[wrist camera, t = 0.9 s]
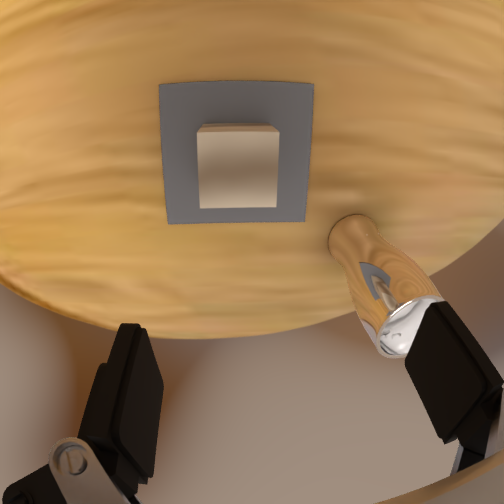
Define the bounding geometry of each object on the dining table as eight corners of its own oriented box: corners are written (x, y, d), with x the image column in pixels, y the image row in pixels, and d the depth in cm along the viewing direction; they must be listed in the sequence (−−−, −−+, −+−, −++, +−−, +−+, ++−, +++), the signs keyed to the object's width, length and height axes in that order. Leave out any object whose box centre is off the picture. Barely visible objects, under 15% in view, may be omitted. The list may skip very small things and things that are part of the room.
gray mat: (160, 84, 25) (158, 84, 24) (312, 84, 26) (314, 84, 25) (168, 222, 32) (167, 224, 31) (303, 219, 33) (304, 221, 32)
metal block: (203, 123, 27) (196, 132, 21) (269, 123, 27) (279, 132, 22) (205, 185, 30) (199, 208, 24) (267, 184, 30) (276, 207, 25)
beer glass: (382, 256, 36) (444, 342, 23) (328, 272, 36) (373, 370, 23) (378, 203, 32) (455, 281, 19) (319, 219, 33) (373, 311, 20)
